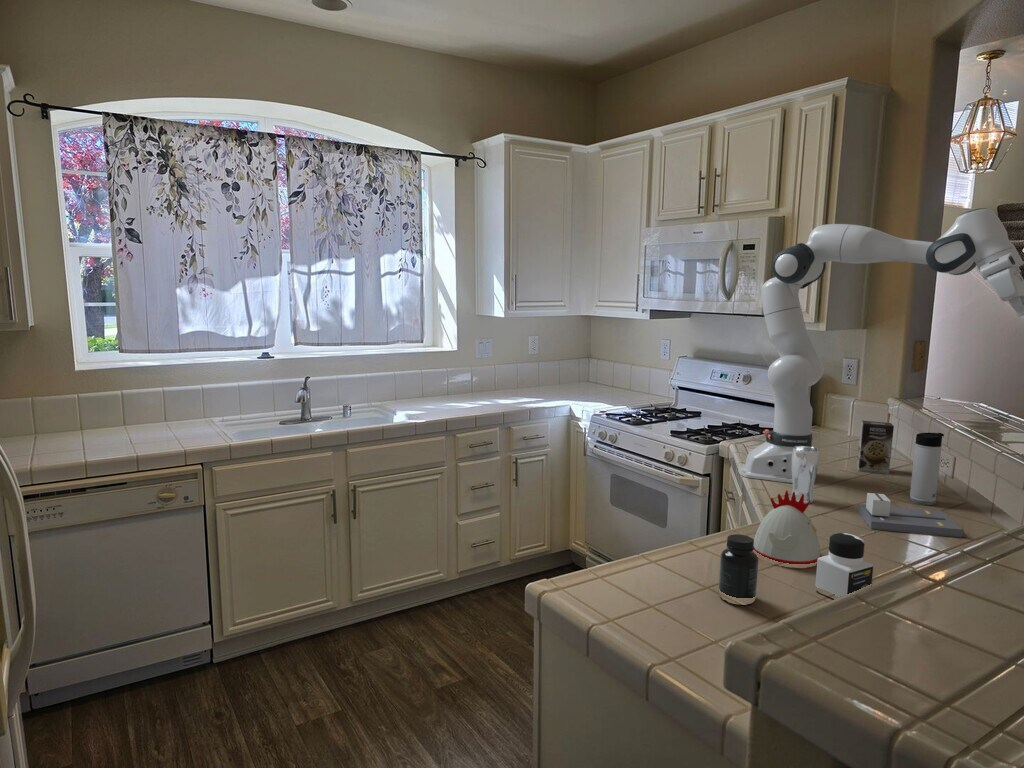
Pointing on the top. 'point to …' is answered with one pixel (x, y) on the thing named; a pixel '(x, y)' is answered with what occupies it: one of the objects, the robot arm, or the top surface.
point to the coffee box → (875, 447)
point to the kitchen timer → (788, 533)
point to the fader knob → (878, 504)
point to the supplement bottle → (739, 567)
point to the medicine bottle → (844, 566)
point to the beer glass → (804, 471)
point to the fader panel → (912, 521)
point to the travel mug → (926, 468)
